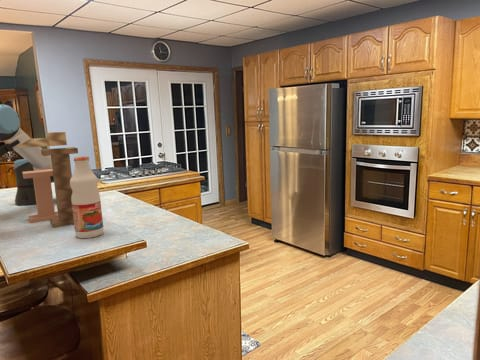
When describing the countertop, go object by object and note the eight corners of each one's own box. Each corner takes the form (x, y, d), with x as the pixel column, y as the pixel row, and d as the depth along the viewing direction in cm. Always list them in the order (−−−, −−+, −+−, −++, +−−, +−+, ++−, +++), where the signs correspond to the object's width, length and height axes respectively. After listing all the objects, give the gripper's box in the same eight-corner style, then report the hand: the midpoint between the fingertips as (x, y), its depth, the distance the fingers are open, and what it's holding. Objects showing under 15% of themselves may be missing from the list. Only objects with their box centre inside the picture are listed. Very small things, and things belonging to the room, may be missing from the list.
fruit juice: (89, 229, 136) (81, 155, 131) (109, 231, 133) (101, 155, 128) (69, 237, 127) (60, 158, 123) (90, 239, 124) (81, 158, 119)
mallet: (64, 144, 146) (62, 131, 145) (66, 145, 140) (65, 132, 140) (5, 148, 135) (3, 134, 135) (6, 149, 130) (3, 135, 129)
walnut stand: (81, 217, 154) (73, 147, 149) (85, 222, 147) (77, 148, 142) (50, 222, 148) (40, 149, 143) (53, 227, 140) (43, 150, 135)
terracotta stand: (62, 213, 162) (56, 168, 158) (64, 217, 155) (59, 170, 152) (28, 219, 155) (22, 171, 151) (30, 223, 148) (23, 173, 145)
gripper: (-26, 178, 135) (32, 143, 144) (-29, 184, 122) (35, 145, 131) (-42, 162, 132) (19, 127, 141) (-46, 166, 119) (21, 127, 127)
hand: (26, 135), depth 136 cm, fingers closed on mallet, 3 cm apart
